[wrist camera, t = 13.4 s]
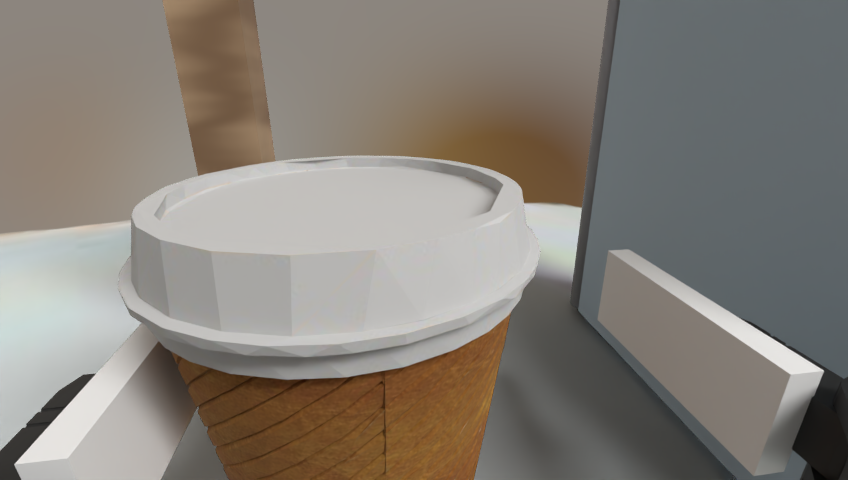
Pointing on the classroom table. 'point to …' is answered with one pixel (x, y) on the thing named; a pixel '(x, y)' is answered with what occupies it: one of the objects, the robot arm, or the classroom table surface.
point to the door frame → (221, 82)
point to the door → (725, 170)
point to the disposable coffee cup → (335, 310)
